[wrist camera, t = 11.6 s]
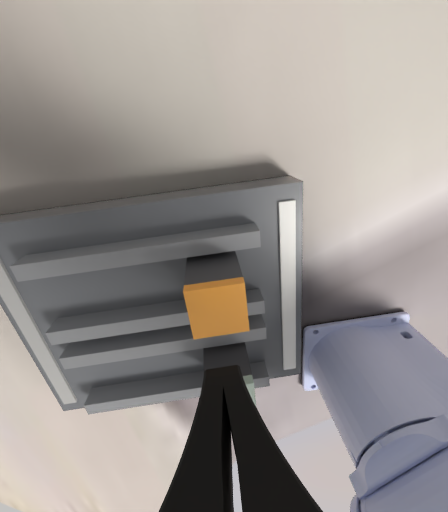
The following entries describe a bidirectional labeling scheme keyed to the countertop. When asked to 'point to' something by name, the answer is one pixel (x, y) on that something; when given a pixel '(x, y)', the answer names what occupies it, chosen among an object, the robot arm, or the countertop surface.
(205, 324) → the breaker toggle
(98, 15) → the countertop surface
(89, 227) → the block
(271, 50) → the countertop surface
